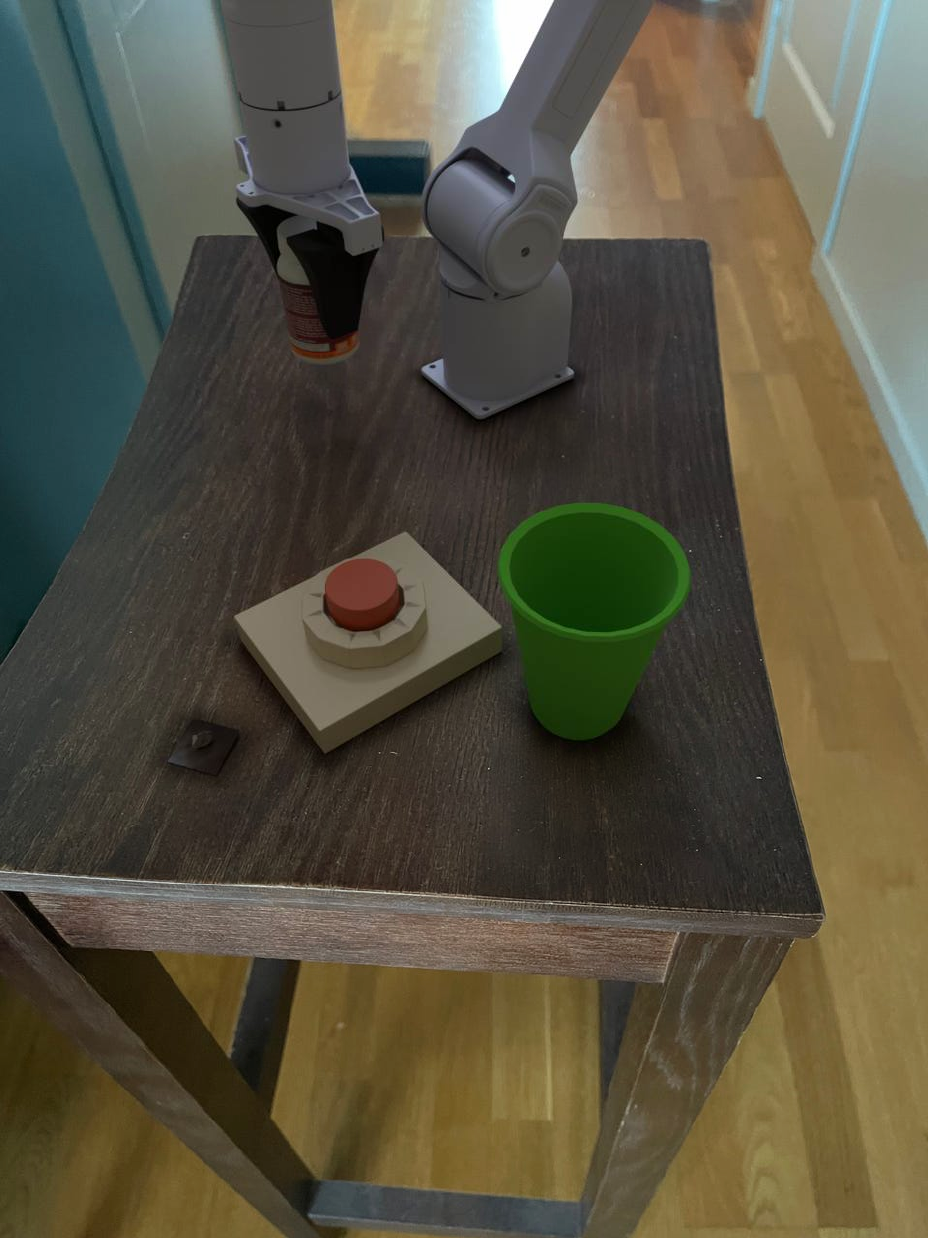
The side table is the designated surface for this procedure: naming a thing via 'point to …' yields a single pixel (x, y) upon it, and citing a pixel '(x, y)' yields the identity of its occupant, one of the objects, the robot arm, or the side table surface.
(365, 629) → the lid button
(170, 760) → the dark square tile
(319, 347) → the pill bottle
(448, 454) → the side table surface
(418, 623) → the button housing
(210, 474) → the side table surface
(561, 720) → the cup
